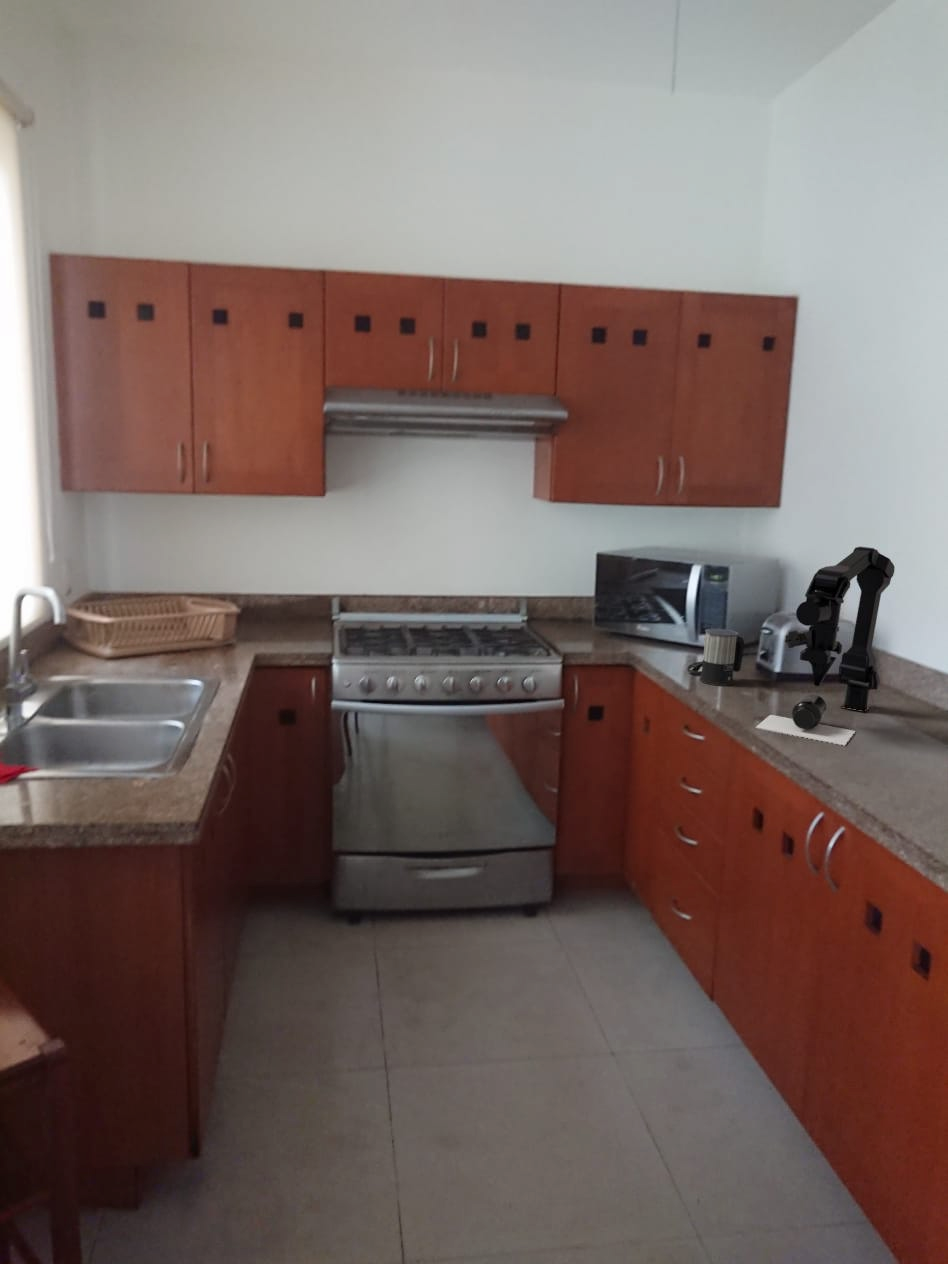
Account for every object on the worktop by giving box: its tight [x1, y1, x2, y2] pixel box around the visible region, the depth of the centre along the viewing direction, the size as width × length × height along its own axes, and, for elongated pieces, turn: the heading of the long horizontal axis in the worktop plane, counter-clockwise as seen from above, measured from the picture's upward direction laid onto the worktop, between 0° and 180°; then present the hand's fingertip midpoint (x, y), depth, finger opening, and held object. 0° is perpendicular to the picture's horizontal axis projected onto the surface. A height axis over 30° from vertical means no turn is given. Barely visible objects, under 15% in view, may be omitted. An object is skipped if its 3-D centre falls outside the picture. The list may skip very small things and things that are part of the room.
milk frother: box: [687, 628, 745, 687], centre depth 264 cm, size 14×16×15 cm
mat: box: [755, 714, 856, 747], centre depth 218 cm, size 14×20×1 cm
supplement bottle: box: [791, 693, 827, 729], centre depth 219 cm, size 7×7×12 cm
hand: (816, 685), depth 222 cm, fingers closed
